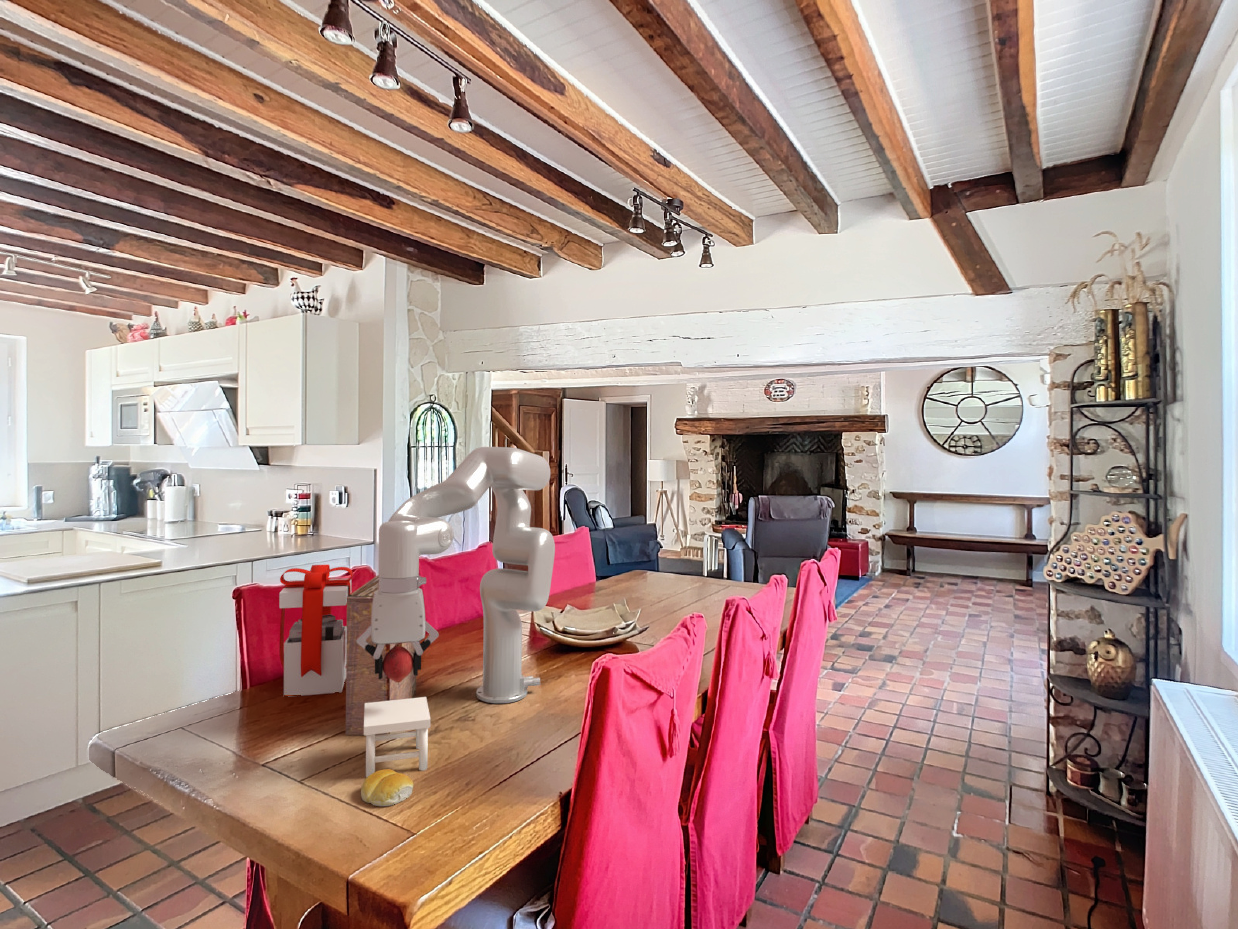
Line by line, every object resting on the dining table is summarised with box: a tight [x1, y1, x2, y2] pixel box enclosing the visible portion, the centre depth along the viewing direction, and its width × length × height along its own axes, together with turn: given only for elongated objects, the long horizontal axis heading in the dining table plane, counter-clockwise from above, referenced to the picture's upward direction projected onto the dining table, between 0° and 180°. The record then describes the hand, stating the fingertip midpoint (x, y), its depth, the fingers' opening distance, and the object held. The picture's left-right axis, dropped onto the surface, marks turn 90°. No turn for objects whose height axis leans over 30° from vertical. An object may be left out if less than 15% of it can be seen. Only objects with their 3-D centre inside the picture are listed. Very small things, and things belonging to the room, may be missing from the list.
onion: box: [383, 643, 414, 683], centre depth 134 cm, size 6×6×8 cm
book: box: [345, 574, 417, 736], centre depth 158 cm, size 25×9×30 cm, turn 4°
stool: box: [363, 696, 431, 778], centre depth 135 cm, size 12×12×10 cm
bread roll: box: [360, 768, 414, 807], centre depth 122 cm, size 8×9×4 cm
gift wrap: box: [278, 564, 354, 696], centre depth 174 cm, size 17×17×30 cm
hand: (398, 674), depth 134 cm, fingers closed on onion, 5 cm apart
